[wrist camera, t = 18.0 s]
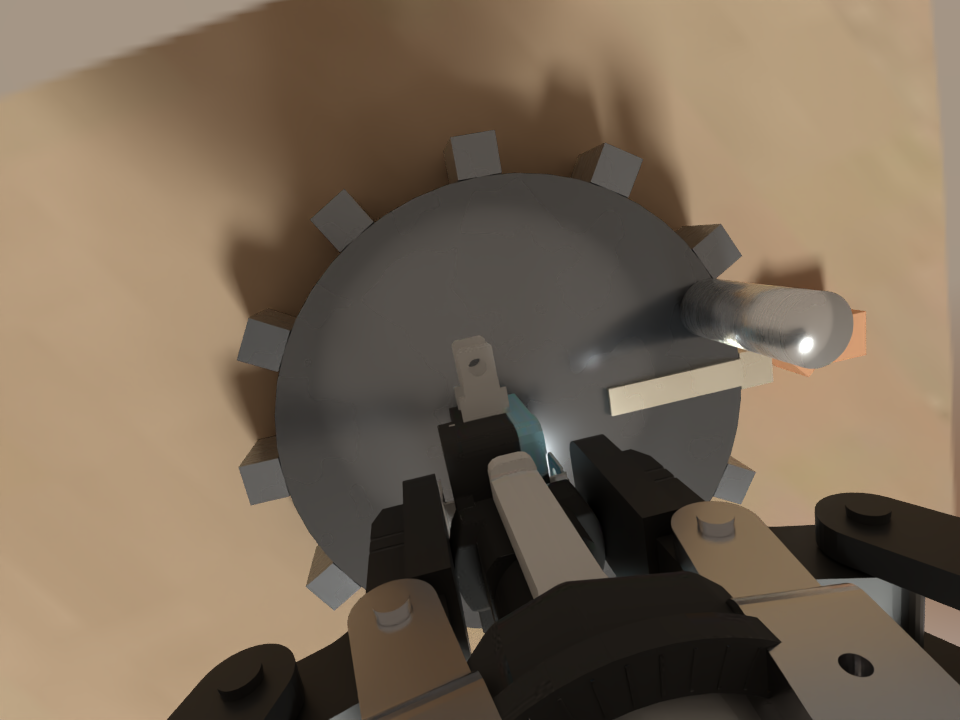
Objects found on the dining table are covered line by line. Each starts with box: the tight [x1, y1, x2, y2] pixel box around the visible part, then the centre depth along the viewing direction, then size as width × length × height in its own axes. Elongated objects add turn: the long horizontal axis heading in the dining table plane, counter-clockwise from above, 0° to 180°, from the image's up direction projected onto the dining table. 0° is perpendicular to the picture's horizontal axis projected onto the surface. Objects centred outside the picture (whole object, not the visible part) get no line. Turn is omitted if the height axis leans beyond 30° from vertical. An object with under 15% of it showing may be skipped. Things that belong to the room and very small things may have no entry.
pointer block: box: [772, 309, 866, 377], centre depth 17 cm, size 3×2×2 cm, turn 101°
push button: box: [437, 335, 781, 720], centre depth 9 cm, size 7×5×10 cm
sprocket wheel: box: [237, 130, 854, 628], centre depth 14 cm, size 15×15×6 cm
